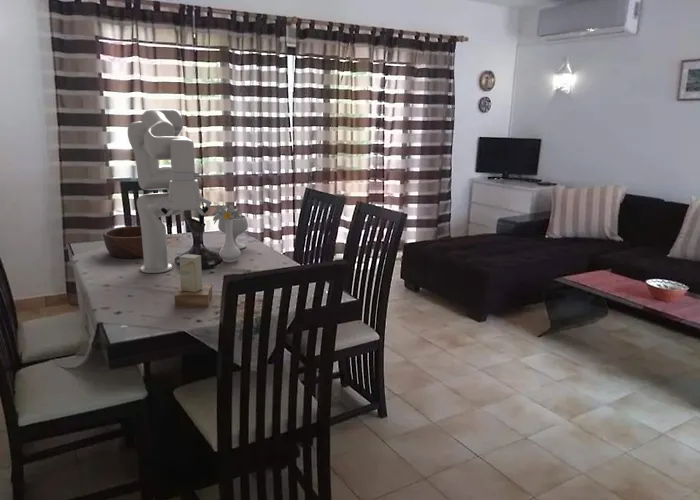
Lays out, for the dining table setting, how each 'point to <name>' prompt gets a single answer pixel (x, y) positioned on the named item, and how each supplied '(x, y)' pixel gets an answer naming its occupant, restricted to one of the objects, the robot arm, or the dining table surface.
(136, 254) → the wooden bowl
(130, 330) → the dining table surface
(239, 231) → the chalice
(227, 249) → the flower vase
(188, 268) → the skincare box
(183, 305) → the light wood square block
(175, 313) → the dining table surface
